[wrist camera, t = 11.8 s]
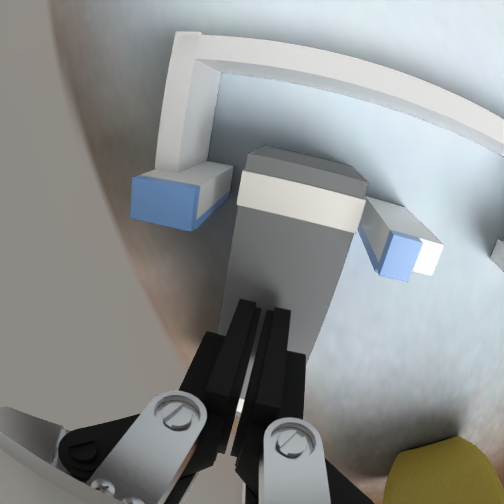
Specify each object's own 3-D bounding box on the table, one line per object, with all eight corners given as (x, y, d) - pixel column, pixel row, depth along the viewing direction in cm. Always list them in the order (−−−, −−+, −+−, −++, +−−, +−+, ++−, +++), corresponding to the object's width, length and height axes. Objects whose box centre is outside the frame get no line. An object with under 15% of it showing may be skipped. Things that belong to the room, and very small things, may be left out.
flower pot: (463, 463, 18) (476, 541, 10) (374, 486, 20) (374, 568, 12) (485, 412, 15) (515, 512, 7) (373, 443, 17) (377, 556, 9)
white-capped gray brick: (262, 145, 11) (245, 153, 8) (352, 166, 11) (370, 183, 8) (222, 359, 16) (204, 408, 13) (286, 375, 16) (279, 426, 12)
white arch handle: (206, 50, 10) (155, 19, 6) (547, 162, 9) (607, 184, 5) (184, 188, 12) (130, 221, 8) (511, 272, 11) (557, 321, 7)
